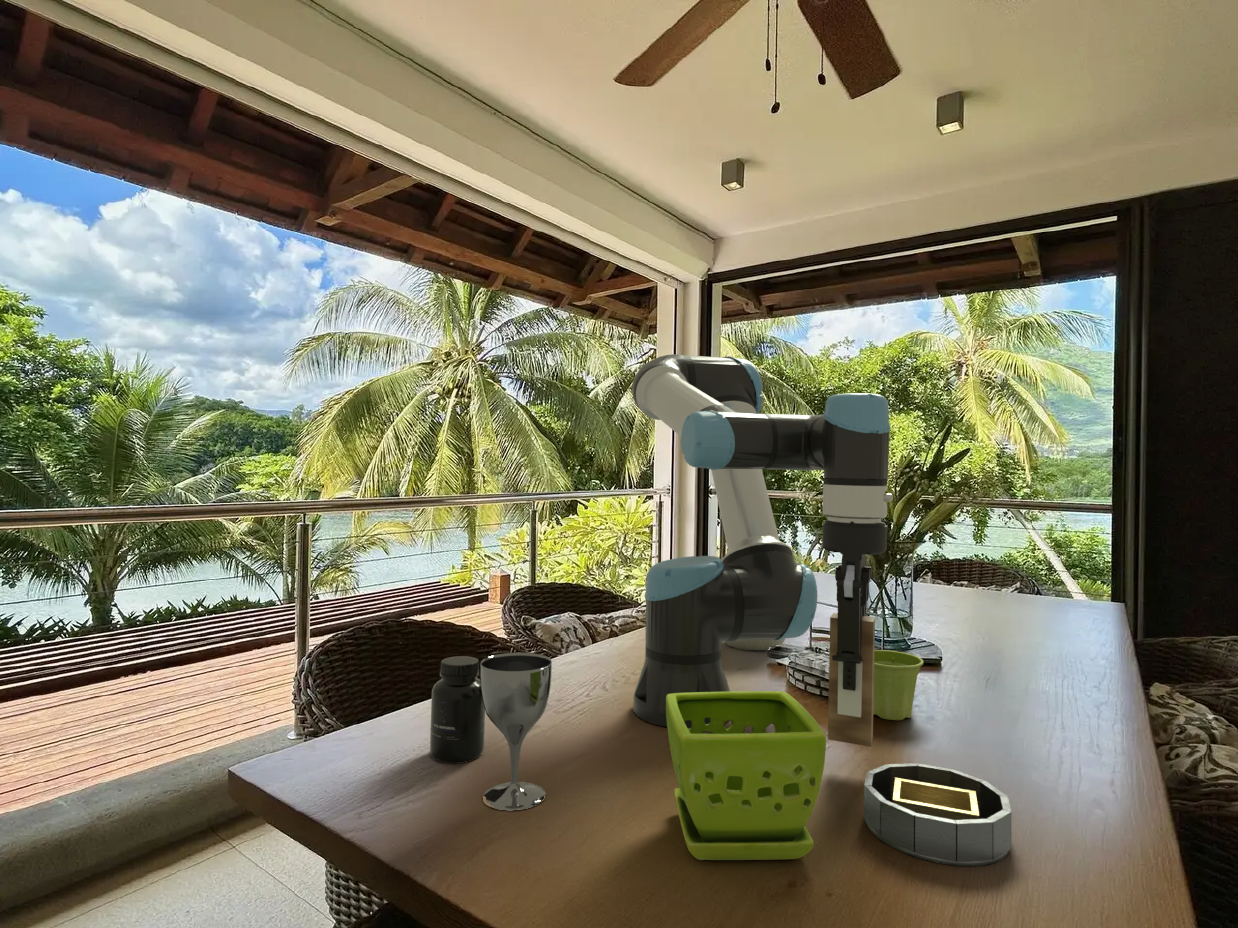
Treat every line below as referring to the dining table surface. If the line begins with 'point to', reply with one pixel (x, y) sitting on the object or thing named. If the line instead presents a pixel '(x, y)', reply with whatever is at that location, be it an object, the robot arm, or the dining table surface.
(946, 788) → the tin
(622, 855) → the dining table surface
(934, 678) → the dining table surface
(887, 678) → the plant pot
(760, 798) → the flower pot
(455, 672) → the supplement bottle
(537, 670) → the wine glass
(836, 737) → the wooden slab
